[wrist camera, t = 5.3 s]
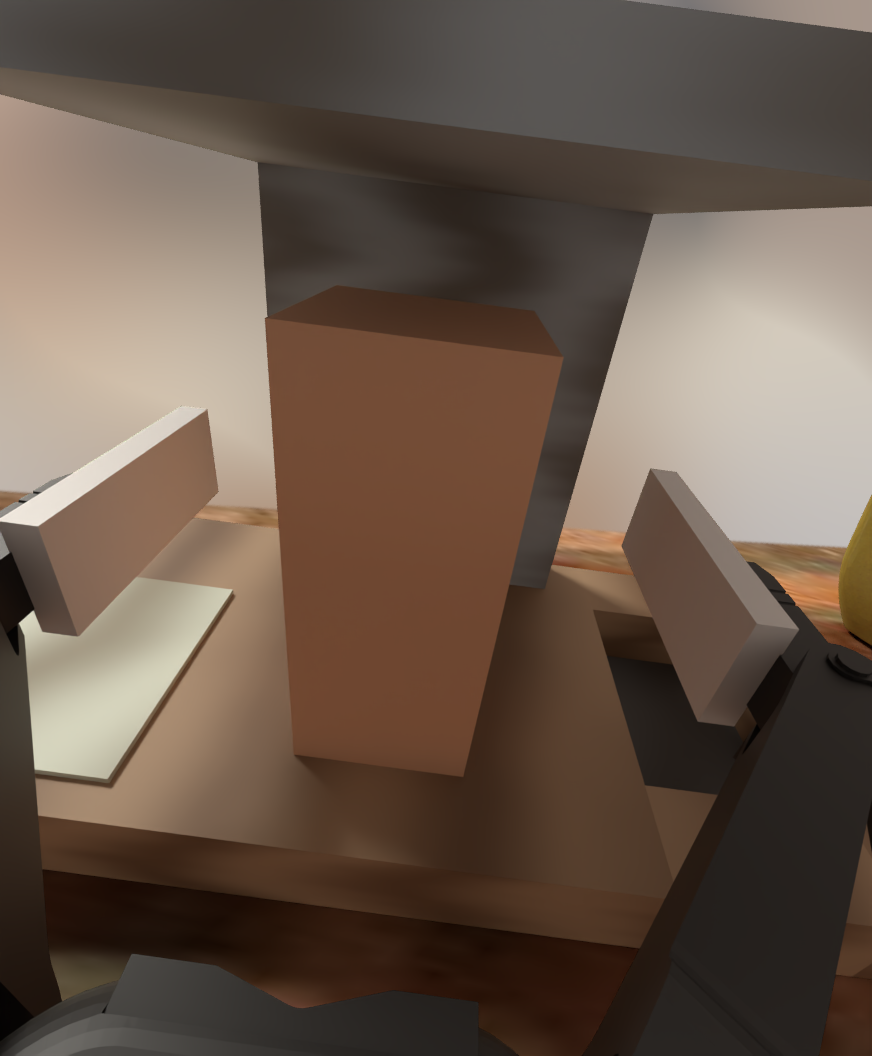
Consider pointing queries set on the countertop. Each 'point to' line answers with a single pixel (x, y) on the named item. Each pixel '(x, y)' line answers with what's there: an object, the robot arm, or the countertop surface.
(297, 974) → the countertop surface
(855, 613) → the flower pot
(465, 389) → the orange block
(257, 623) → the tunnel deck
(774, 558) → the countertop surface
